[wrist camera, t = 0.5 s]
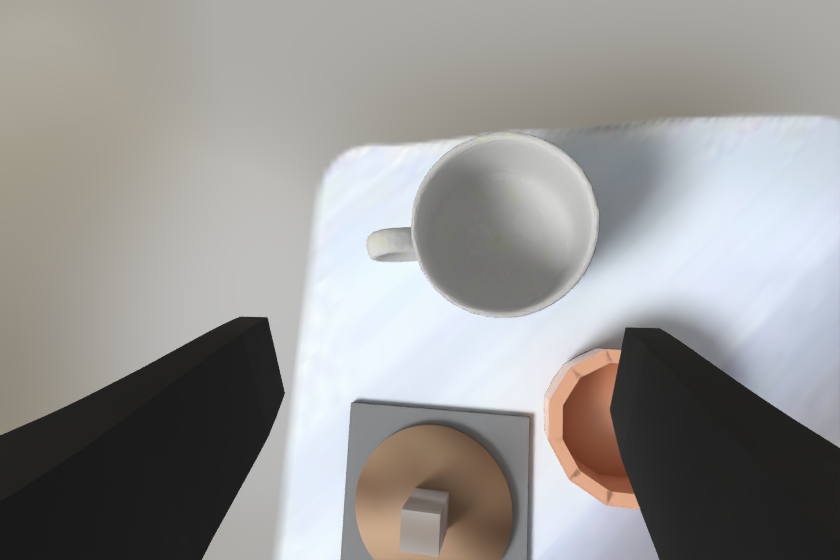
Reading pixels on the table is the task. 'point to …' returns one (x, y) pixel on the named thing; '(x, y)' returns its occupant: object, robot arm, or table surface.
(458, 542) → the lid
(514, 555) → the mat
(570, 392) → the bowl
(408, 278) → the table surface
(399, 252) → the teacup
